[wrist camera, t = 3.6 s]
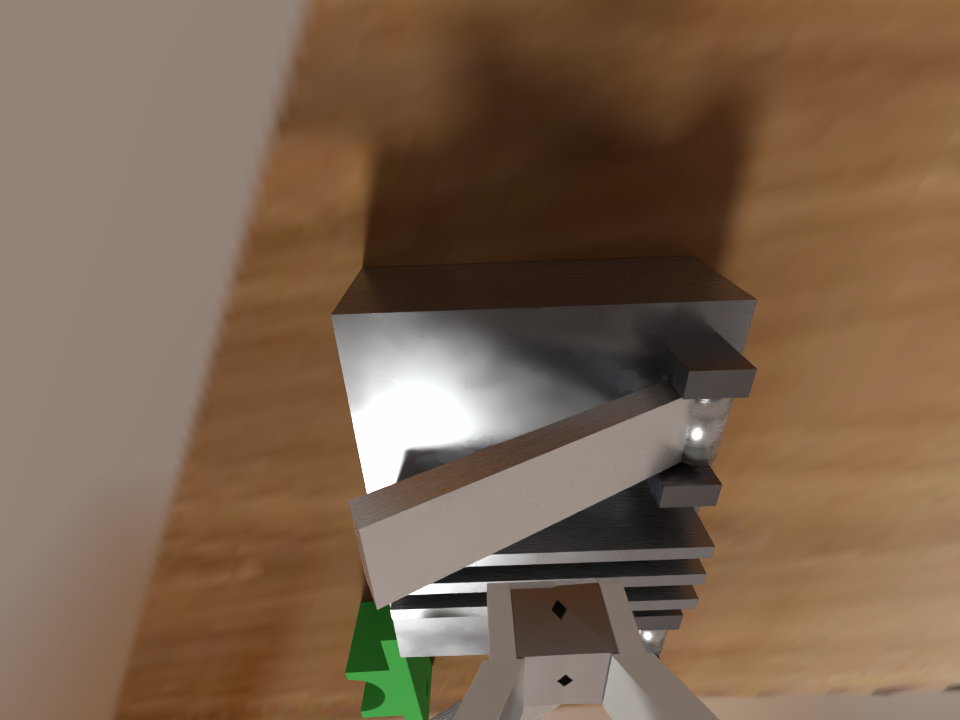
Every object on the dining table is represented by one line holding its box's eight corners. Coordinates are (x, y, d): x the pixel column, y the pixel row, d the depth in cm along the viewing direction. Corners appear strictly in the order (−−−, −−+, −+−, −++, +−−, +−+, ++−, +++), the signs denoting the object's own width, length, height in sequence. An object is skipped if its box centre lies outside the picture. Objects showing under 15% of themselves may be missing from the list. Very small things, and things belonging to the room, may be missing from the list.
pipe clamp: (351, 569, 29) (332, 643, 25) (410, 565, 29) (400, 639, 25) (382, 668, 35) (371, 742, 31) (432, 665, 35) (427, 738, 31)
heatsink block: (693, 255, 20) (817, 340, 13) (632, 566, 29) (682, 712, 22) (362, 267, 20) (301, 358, 13) (411, 574, 29) (392, 722, 22)
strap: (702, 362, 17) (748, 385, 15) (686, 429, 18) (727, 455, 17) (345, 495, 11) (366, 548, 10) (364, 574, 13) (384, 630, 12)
